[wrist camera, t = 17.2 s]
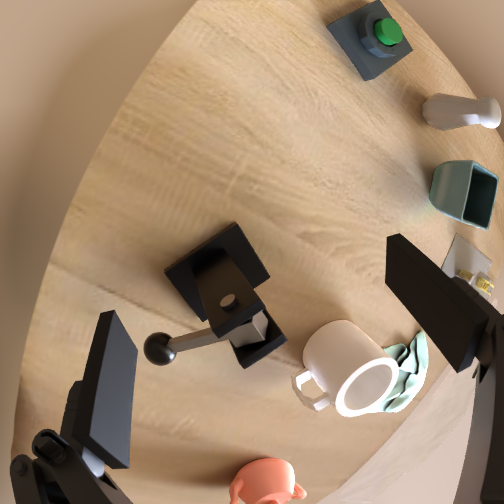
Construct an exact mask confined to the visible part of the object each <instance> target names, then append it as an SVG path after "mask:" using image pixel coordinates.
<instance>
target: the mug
mask: <svg viewBox="0 0 504 504" xmlns="http://www.w3.org/2000/svg"><path fill="white" fill-rule="evenodd" d="M302 359H303V363H304V366H305V367H306V368H304V369H303V370H301V371H299V372H298V373H296V374H294V375H292V376H291V378H292V387H293V390H294V391H295V393H296V395H297V396H298V398H299V399H300V401H301V402H302V404H303V405H304V406H306V407H308V408H310V409H312V410H314V411H319V410H321V409H323V408H324V407H326V406H328V405H329V404H331V403H332V405H333V406H334V407H335V409H336V410H337V411H338V412H339V414H340V415H343V416H346V417H355V416H358V415H362V414H365V413H366V412H368V411H370V410H372V409H373V408H375V407H376V406H377V405H379V404H380V403H381V402H382V401H383V400H384V399H385V398H386V397H387V396H388V395H389V394H390V392H391V391H392V389H393V387H394V386H395V384H396V381H397V378H398V376H399V367H398V364H397V362H396V361H395V360H394V359H393V358H392V357H391V356H390V355H389V354H387V353H386V352H385V351H384V350H383V349H382V348H381V347H380V346H378V345H377V344H376V343H375V342H374V341H373V340H372V339H371V338H370V337H368V336H367V335H366V334H365V333H364V332H363V331H362V330H361V329H359V328H358V327H357V326H356V325H355V324H353V323H352V322H350V321H347V320H337V321H332V322H330V323H328V324H325V325H323V326H322V327H321V328H320V329H318V330H317V331H316V332H315V333H314V334H313V335H312V336H311V337H310V339H309V340H308V341H307V344H306V346H305V348H304V351H303V357H302ZM312 377H313V379H314V380H315V381H316V383H317V384H318V385H319V387H320V388H321V390H322V391H323V392H324V394H323V395H321V396H319V397H317V398H316V399H312V398H309V397H307V396H305V395H303V393H302V392H301V388H300V384H302V383H304V382H306V381H307V380H309V379H311V378H312Z"/></svg>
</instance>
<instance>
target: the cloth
mask: <svg viewBox="0 0 504 504" xmlns="http://www.w3.org/2000/svg"><path fill="white" fill-rule="evenodd" d="M410 349H411V352H410V354H409V353H408V351H407V348H406V346H405V345H404V344H402V343H400V344H396V345H393V346H390V347H387V348H384V349H383V350H384V351H385V352H386V353H387V354H389V355H390V356H391V357H392V358H393V359H394V360H395V361H396V362H397V364H398V367H399V376H398V378H397V381H396V384H395V386H394V387H393V389H392V391H391V392H390V394H389V395H388V396H387V397H386V398H385V399H384V400H383V401H382V402H381V403H380V404H379V405H377V406H376V407H375V408H373V409H372V410H370V411H368V412H366V413H371V412H382V411H385V412H393V411H394V412H395V413H396V412H398V411H400V410H401V409H402V408H404V407H405V406H406V404H408V403H409V402H410V401H411V400H412V398H413V397H414V396H415V395H416V394H417V392H418V391H419V389H420V388H421V387H422V385H423V382H424V379H425V374H426V370H427V368H428V360H429V359H428V347H427V342H426V337H425V334H424V332H423V330H421V331H420V332H419V333H418V334H416V337H415V338H414V340H413V341H412V342H411V344H410Z"/></svg>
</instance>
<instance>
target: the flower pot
mask: <svg viewBox="0 0 504 504" xmlns="http://www.w3.org/2000/svg"><path fill="white" fill-rule="evenodd" d="M498 181H499V178H498V176H497V175H495V174H494V173H492V172H491V171H489V170H487V169H486V168H484V167H483V166H481V165H480V164H478V163H477V162H475V161H448V162H445V163H443V164H441V165H440V166H438V167H437V168H436V169H435V171H434V176H433V181H432V186H431V190H430V195H429V199H430V201H431V203H432V204H433V206H434V207H435V208H436V209H437V210H439V211H440V212H442V213H444V214H446V215H448V216H450V217H452V218H454V219H456V220H458V221H460V222H462V223H466V224H469V225H472V226H475V227H478V228H481V229H483V230H486V231H487V230H488V229H489V225H490V221H491V216H492V212H493V207H494V203H495V198H496V193H497V188H498Z"/></svg>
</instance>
